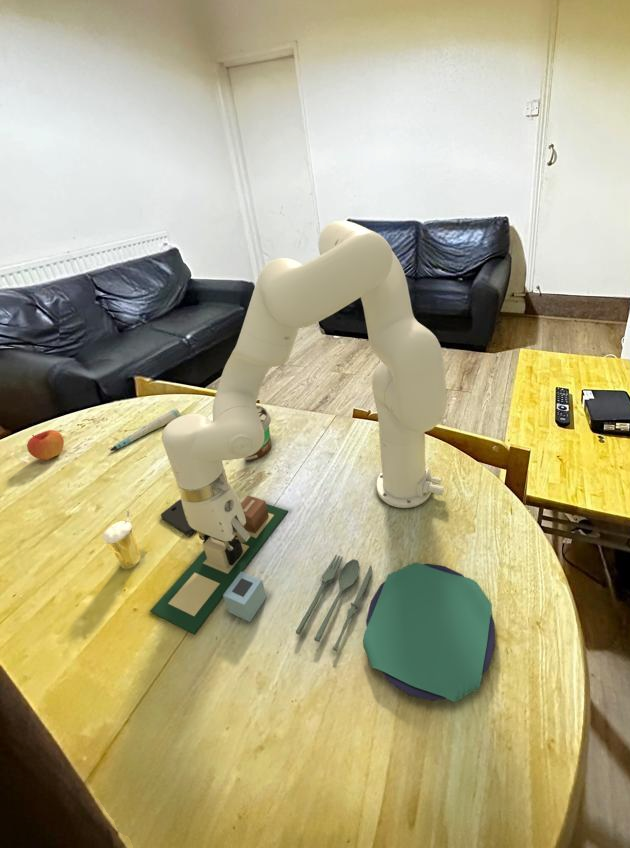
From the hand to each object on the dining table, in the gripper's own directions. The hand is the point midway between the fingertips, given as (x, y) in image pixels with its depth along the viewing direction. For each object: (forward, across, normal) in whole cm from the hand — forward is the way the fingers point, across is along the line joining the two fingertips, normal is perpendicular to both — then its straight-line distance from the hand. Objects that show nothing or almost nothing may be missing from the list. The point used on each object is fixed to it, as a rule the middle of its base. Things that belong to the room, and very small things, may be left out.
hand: (225, 553), depth 79 cm
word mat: (+1, 0, 0) cm, 1 cm away
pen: (+1, +49, -23) cm, 54 cm away
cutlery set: (+1, -35, -1) cm, 35 cm away
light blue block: (+1, -10, +6) cm, 12 cm away
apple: (+1, +66, -7) cm, 66 cm away
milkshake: (+1, +17, +7) cm, 18 cm away
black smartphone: (+1, +15, -4) cm, 15 cm away
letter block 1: (0, 0, 0) cm, 0 cm away
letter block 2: (0, 0, -8) cm, 8 cm away
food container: (+1, +13, -28) cm, 31 cm away
